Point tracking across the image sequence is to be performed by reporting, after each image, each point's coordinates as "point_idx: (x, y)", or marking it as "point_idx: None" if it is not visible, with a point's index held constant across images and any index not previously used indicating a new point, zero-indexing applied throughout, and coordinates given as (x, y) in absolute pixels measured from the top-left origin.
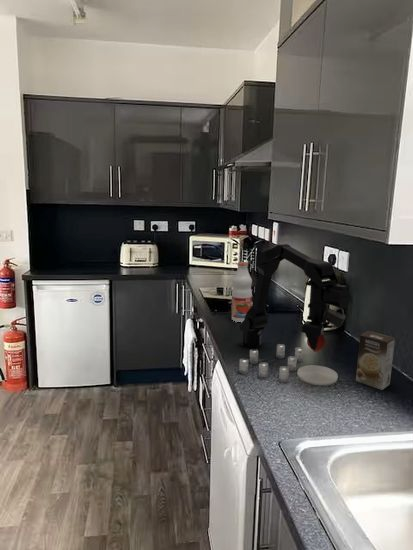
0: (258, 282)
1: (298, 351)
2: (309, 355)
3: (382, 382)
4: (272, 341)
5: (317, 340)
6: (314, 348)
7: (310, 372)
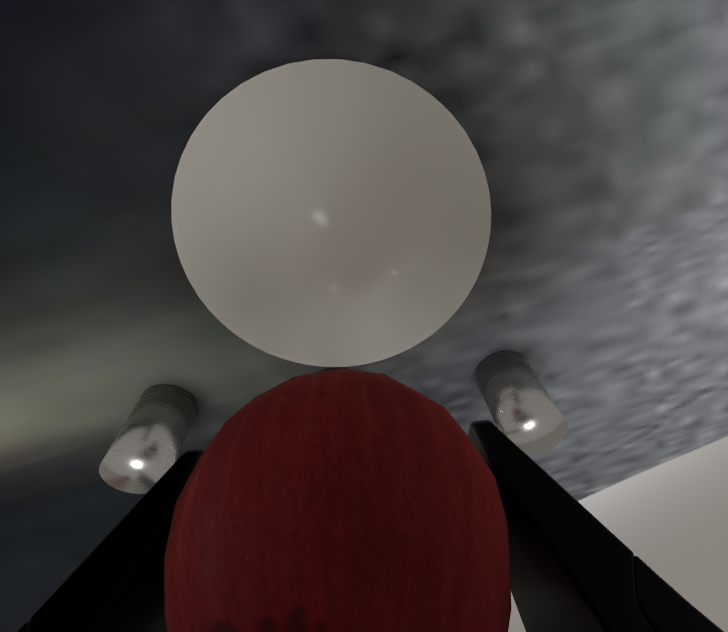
0: None
1: (169, 462)
2: (29, 385)
3: None
4: (50, 559)
5: (622, 579)
6: (503, 441)
7: (352, 291)
